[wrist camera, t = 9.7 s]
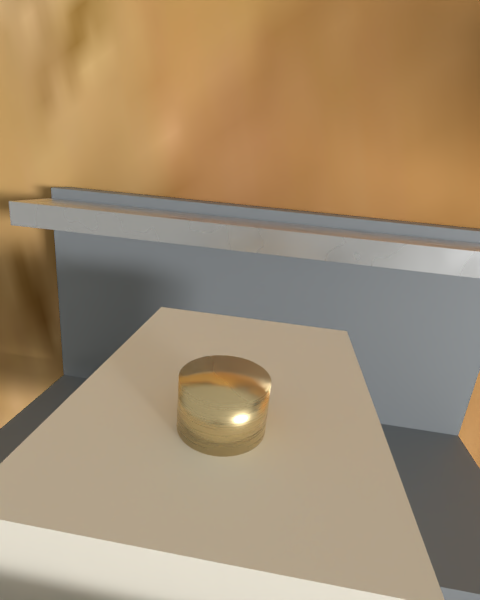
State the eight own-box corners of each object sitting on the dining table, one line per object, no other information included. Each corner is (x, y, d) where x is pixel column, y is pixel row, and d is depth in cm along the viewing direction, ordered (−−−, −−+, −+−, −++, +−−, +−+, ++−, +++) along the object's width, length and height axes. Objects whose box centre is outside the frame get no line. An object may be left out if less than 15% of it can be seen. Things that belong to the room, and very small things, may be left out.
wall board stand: (439, 440, 22) (556, 644, 12) (78, 384, 24) (-63, 519, 14) (505, 231, 18) (747, 289, 8) (68, 187, 20) (-135, 192, 10)
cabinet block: (313, 504, 14) (338, 889, 6) (157, 476, 14) (10, 799, 7) (352, 300, 11) (473, 540, 4) (162, 277, 12) (-61, 445, 4)
